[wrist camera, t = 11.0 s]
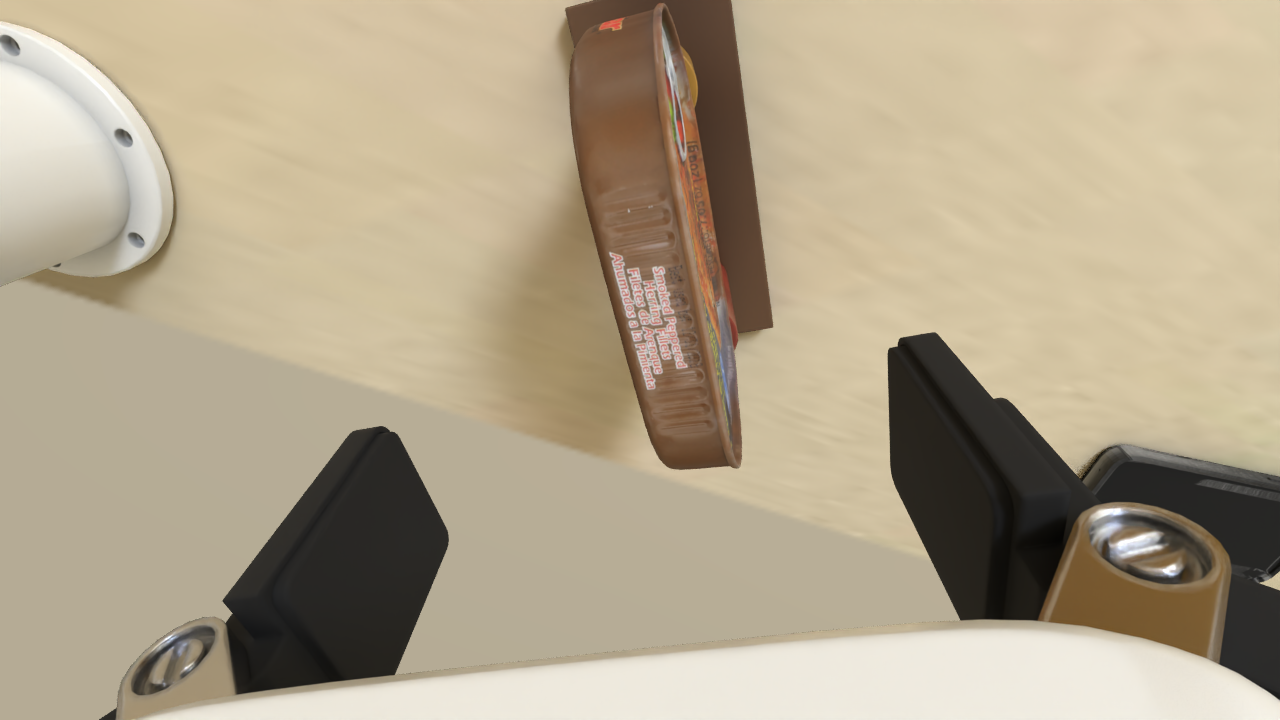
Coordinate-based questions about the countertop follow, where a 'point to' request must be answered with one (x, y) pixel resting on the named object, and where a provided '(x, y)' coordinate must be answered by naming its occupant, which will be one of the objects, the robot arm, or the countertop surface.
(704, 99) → the rod stand
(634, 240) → the tin
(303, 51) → the countertop surface
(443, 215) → the countertop surface
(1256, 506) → the phone
